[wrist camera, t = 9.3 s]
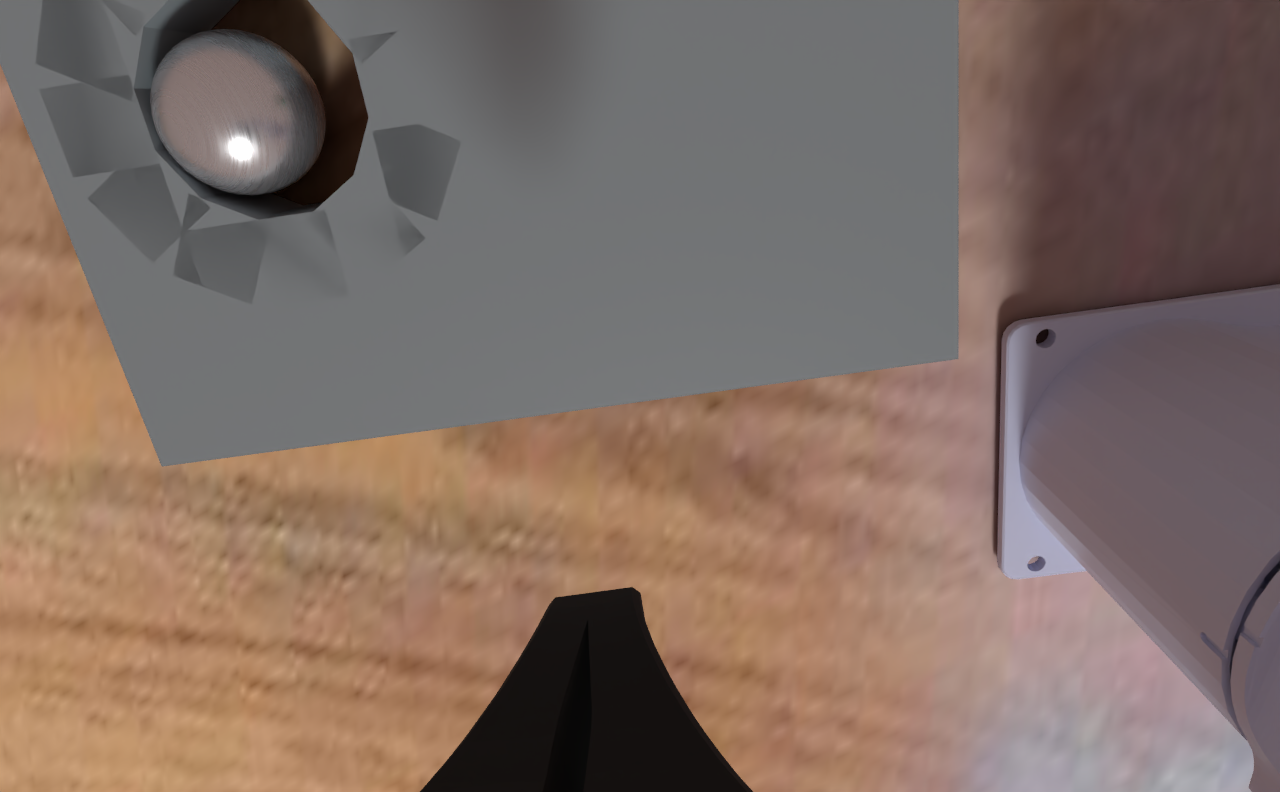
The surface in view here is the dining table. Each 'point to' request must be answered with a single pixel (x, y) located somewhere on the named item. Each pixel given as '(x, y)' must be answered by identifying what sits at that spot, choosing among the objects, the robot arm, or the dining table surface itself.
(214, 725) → the dining table surface
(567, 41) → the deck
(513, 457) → the dining table surface
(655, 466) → the dining table surface
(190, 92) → the ball
